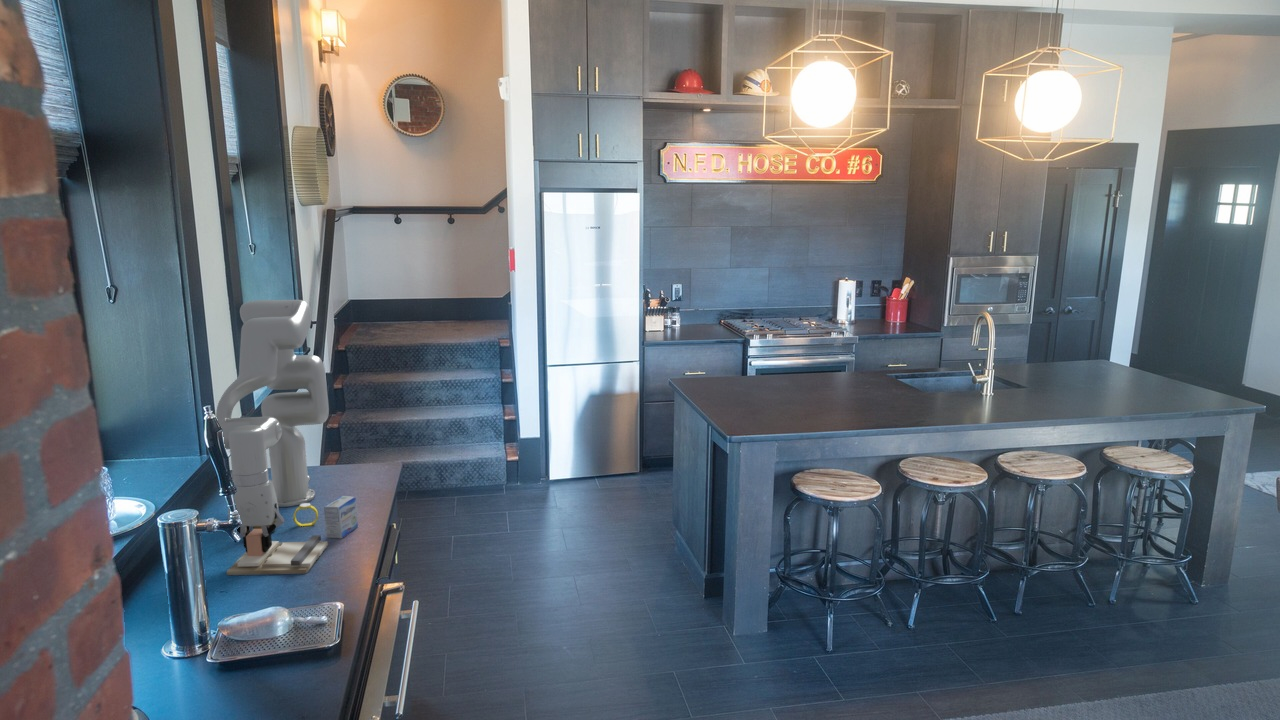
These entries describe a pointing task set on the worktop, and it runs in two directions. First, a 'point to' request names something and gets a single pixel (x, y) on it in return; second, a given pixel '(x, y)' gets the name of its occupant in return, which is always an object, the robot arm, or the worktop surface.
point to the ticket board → (285, 559)
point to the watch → (305, 506)
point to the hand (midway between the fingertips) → (258, 549)
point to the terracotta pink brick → (255, 549)
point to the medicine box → (340, 517)
